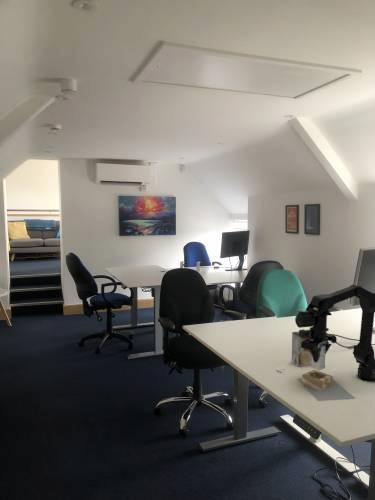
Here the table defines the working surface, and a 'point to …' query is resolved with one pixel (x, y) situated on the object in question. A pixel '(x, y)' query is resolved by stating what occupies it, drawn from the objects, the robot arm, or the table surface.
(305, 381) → the wooden square frame
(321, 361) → the steel pin
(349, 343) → the table surface
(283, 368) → the pliers
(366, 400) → the table surface
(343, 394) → the rubber mat
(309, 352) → the coffee box
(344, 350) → the table surface
